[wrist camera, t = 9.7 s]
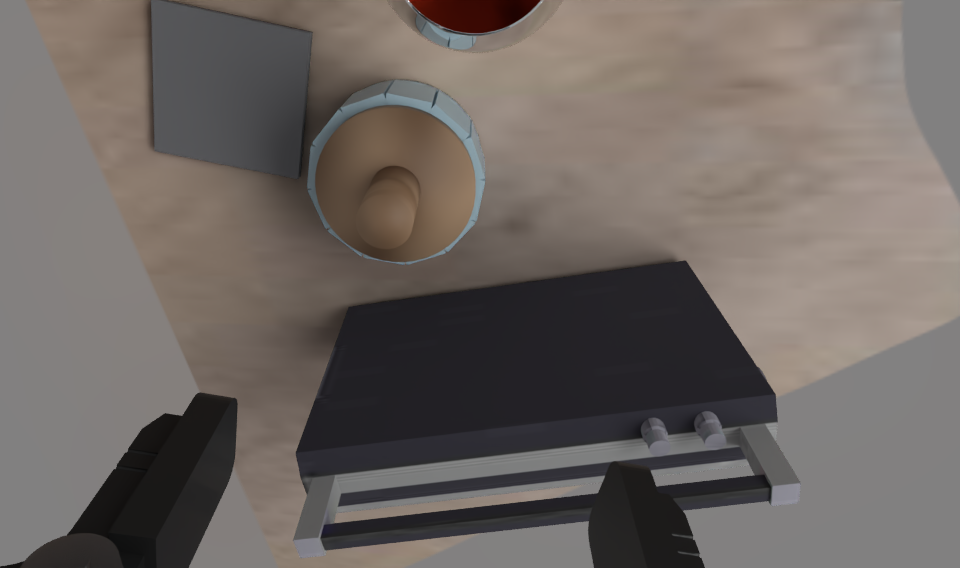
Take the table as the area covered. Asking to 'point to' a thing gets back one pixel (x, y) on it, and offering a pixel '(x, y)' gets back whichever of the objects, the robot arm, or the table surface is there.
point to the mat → (229, 88)
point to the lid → (396, 183)
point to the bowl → (417, 98)
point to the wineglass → (475, 21)
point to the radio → (532, 406)
